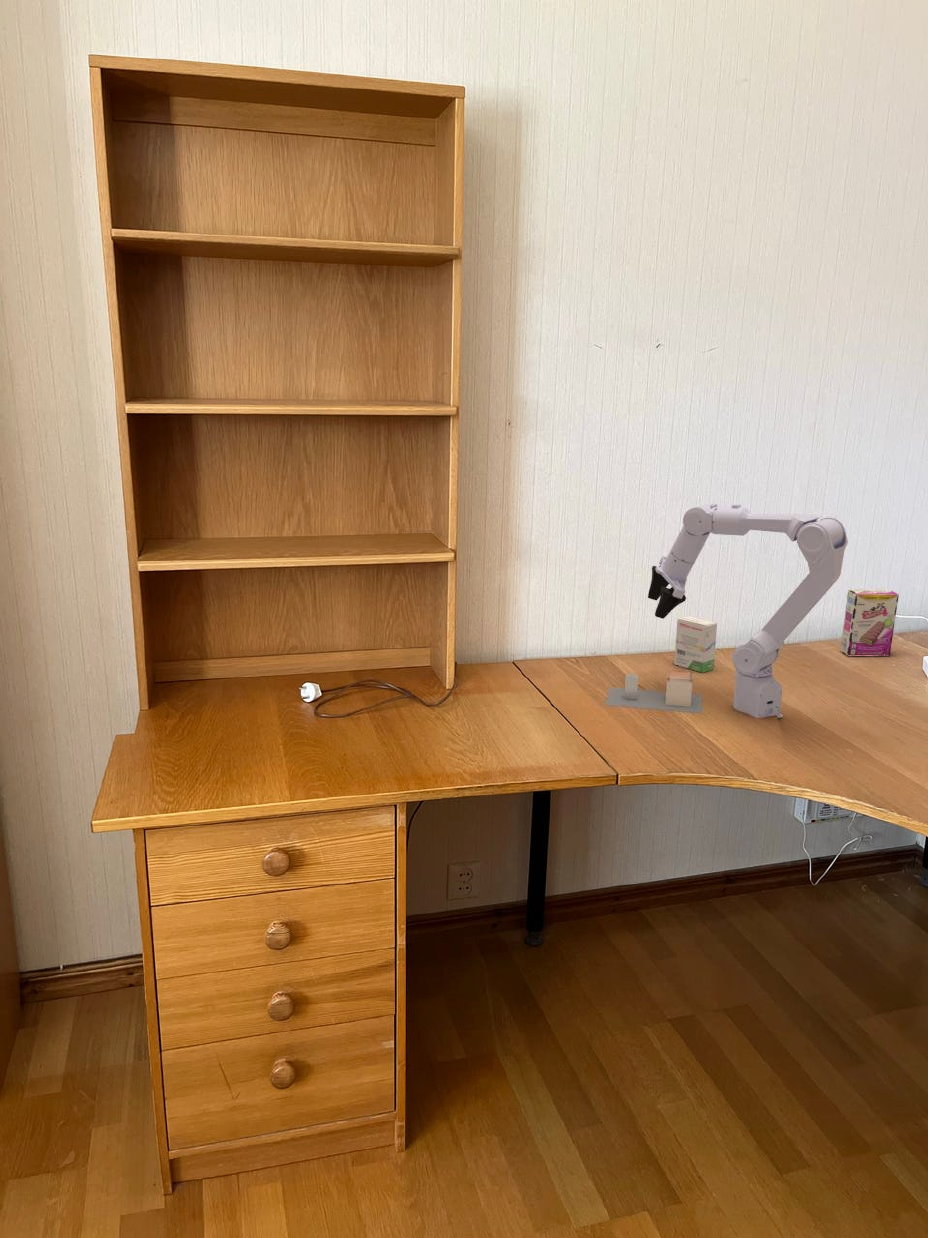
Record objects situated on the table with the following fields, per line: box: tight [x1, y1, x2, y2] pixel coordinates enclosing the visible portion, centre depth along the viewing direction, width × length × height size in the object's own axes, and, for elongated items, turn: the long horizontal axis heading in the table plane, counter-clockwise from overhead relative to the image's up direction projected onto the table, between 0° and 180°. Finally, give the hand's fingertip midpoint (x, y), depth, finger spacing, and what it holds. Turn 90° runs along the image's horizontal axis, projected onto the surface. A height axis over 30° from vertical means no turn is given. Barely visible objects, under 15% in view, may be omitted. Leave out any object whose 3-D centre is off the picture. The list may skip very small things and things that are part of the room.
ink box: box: [674, 615, 718, 674], centre depth 232 cm, size 8×5×12 cm, turn 40°
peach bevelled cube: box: [665, 669, 694, 707], centre depth 206 cm, size 5×5×6 cm
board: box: [605, 686, 703, 714], centre depth 208 cm, size 20×12×1 cm, turn 77°
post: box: [624, 673, 639, 700], centre depth 208 cm, size 3×3×6 cm
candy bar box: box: [840, 589, 900, 656], centre depth 243 cm, size 11×5×16 cm, turn 94°
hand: (655, 607), depth 213 cm, fingers open, 7 cm apart
